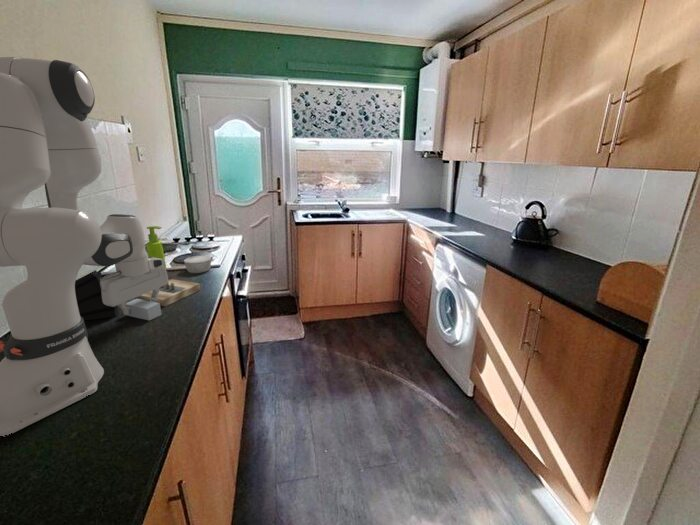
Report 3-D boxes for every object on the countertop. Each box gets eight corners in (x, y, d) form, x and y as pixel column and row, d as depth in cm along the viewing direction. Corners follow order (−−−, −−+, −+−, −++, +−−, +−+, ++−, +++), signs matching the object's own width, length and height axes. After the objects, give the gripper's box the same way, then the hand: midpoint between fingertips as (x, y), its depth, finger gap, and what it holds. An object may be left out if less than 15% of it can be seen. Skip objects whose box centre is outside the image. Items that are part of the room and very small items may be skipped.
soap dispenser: (164, 273, 145) (156, 228, 139) (148, 273, 145) (139, 228, 139) (171, 269, 151) (164, 225, 145) (156, 269, 151) (148, 225, 145)
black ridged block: (126, 311, 107) (92, 272, 101) (86, 332, 105) (49, 295, 99) (130, 306, 110) (97, 269, 104) (91, 327, 109) (56, 290, 103)
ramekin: (194, 265, 156) (193, 254, 155) (217, 266, 155) (216, 255, 153) (179, 273, 146) (177, 262, 144) (204, 275, 144) (202, 263, 143)
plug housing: (161, 314, 108) (159, 303, 107) (149, 320, 104) (147, 308, 103) (139, 309, 112) (136, 298, 110) (126, 315, 108) (124, 303, 107)
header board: (164, 306, 114) (162, 293, 112) (135, 300, 119) (132, 287, 117) (200, 289, 128) (198, 277, 127) (172, 284, 133) (170, 273, 131)
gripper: (106, 279, 93) (117, 324, 97) (168, 258, 111) (174, 296, 116) (91, 276, 95) (102, 320, 99) (153, 256, 113) (160, 294, 118)
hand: (141, 307), depth 108 cm, fingers open, 8 cm apart
